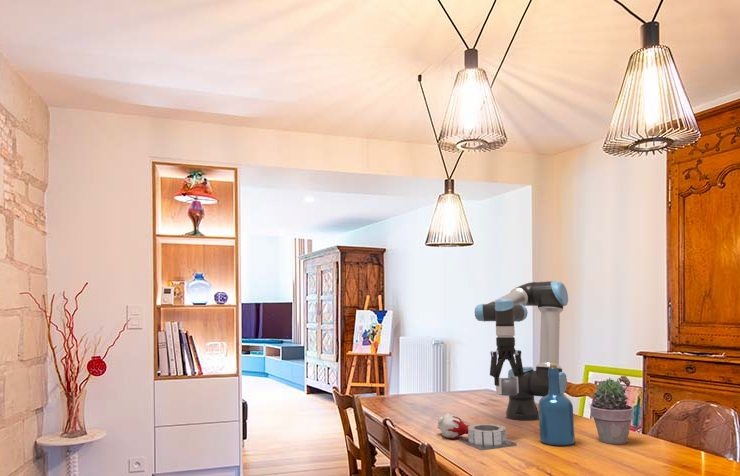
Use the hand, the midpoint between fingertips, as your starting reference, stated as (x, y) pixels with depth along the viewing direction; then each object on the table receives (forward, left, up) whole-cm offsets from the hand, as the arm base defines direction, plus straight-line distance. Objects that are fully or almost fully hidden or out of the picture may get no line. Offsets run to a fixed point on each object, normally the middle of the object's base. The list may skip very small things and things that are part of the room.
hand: (507, 393), depth 232 cm
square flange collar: (+13, +3, -18) cm, 22 cm away
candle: (+20, -11, -18) cm, 29 cm away
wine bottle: (-12, +14, -18) cm, 26 cm away
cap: (0, 0, 0) cm, 0 cm away
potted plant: (-32, +22, -18) cm, 43 cm away
